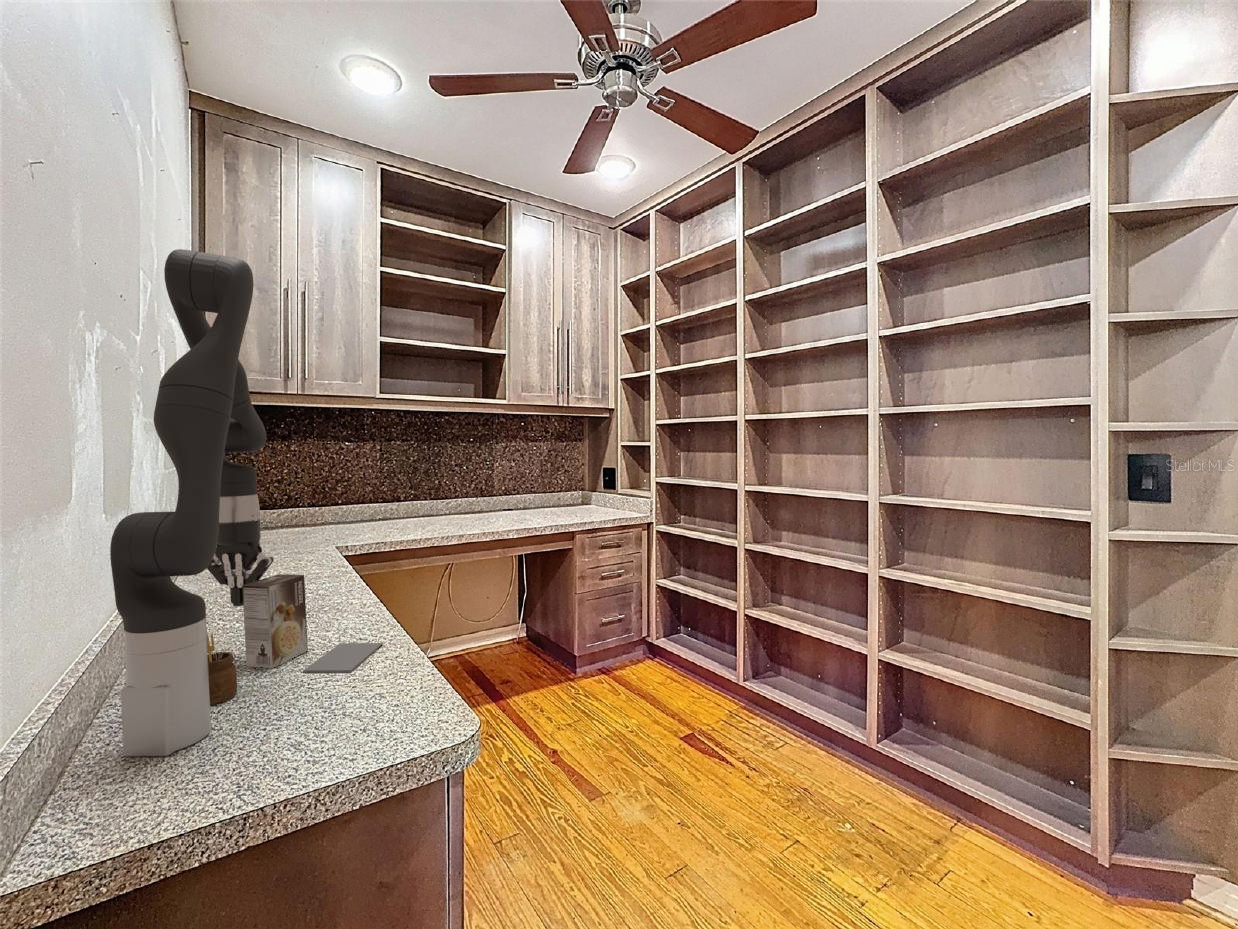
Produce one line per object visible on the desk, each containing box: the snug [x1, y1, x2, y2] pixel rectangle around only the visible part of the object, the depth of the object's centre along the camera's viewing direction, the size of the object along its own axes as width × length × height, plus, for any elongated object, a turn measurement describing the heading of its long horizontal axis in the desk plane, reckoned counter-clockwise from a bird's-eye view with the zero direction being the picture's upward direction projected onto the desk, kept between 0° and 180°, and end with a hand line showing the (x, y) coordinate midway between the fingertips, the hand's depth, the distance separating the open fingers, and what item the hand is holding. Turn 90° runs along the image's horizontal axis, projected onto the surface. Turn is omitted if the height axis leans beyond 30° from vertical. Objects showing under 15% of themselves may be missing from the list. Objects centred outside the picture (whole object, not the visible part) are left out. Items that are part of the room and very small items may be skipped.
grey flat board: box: [302, 642, 384, 674], centre depth 111 cm, size 14×9×1 cm, turn 0°
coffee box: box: [242, 573, 309, 669], centre depth 111 cm, size 9×6×16 cm
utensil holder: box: [207, 629, 238, 706], centre depth 94 cm, size 6×6×12 cm
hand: (240, 605), depth 111 cm, fingers closed
